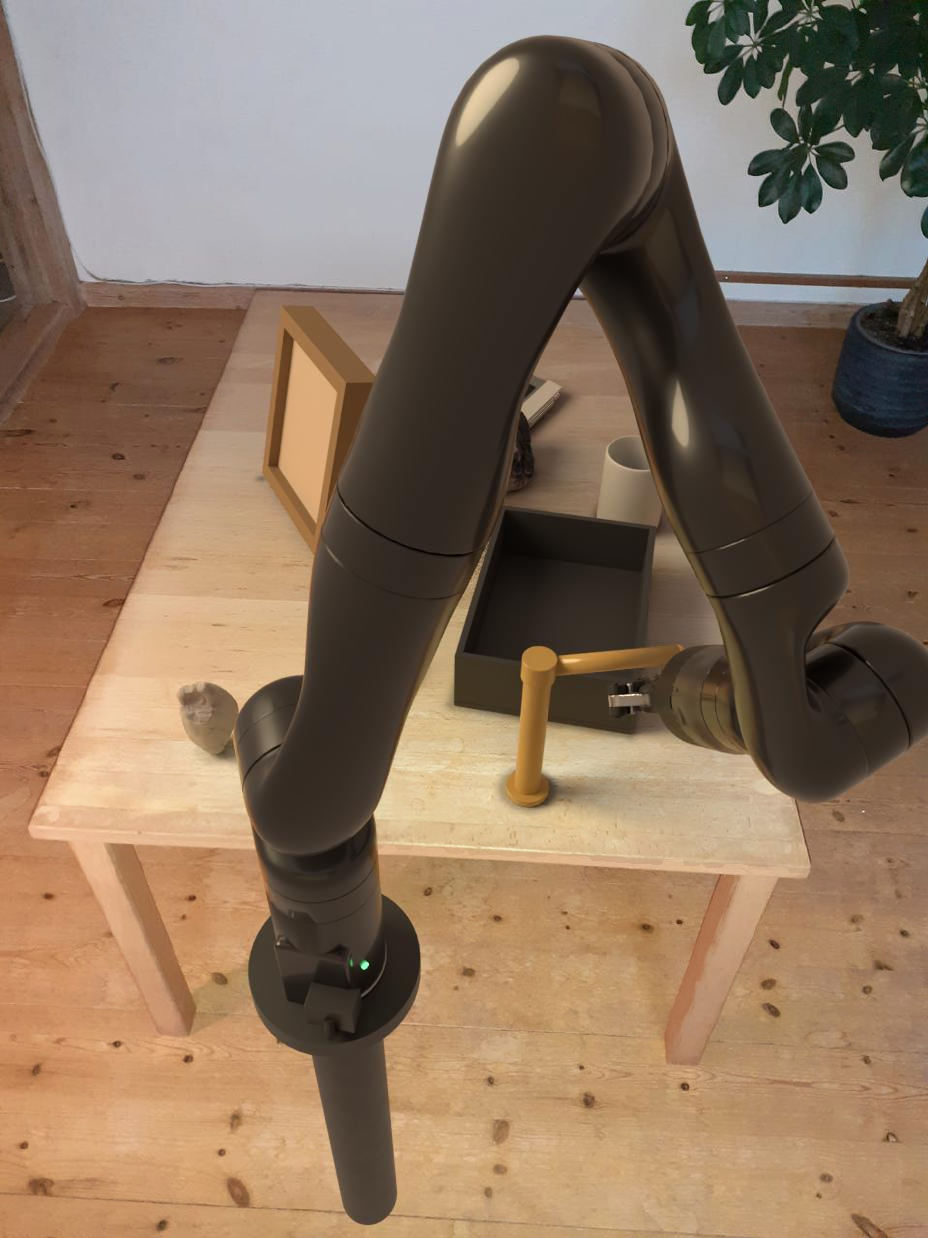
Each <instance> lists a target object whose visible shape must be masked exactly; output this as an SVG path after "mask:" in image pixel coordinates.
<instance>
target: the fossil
mask: <svg viewBox="0 0 928 1238" xmlns="http://www.w3.org/2000/svg"><path fill="white" fill-rule="evenodd" d="M176 699H177V701H178V702H179V716H180V719H181V722H182V726H183V729H184V732H185V734H186V736H187V738H188V739H189V740H190V741H191V742H192V743H193V744H194V745H195V746H197V747H199V748H201V750H202V751H204V752H205V753H208V754H210V755H219V754H220V753H222V752H223V751H224V749H225V747H226V745H227V744H228V742H229V740H230V737H231V735H232V734H233V730H234V725H235V721H236V718H237V716H238V714H239V712H240V709H239V708H240V707H239V705H238V702H237V699H236V698H234V696H233V695H232V694H231V693H230V692H228V691H227V689H224V688H223V687H222V686H219V685H218V684H215V683H212V682H206V681H199V682H195V683H191V684H186V685H182V686H181V687H180V688H178V690H177V692H176Z"/></svg>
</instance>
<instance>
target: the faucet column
mask: <svg viewBox="0 0 928 1238" xmlns="http://www.w3.org/2000/svg"><path fill="white" fill-rule="evenodd" d="M550 694H551V686H550V687H548V688H544V689H534V688H531V687H528V686H527V685H525V684H524V683H523V691H522V703H521V715H520V716H519V717H520V718H519V727H518V728H519V729H518V738H517V750H516V751H517V753H516V761H515V762H516V764H515V770H514V771H512V772H511V773H510V774H509V775H508V777H507V778H506V781H505V793H506V796H507V797H508V799H509V800H510V801H511V802H512V803H514V804H515V805H517V806H519V807H526V808H531V807H537V806H539V805H540V804H542V803H543V802H544V801H545V800H547V797H548V795H549V790H550V784H549V781H548V779H547V777H546V776H545V775H544V774H543V763H544V756H545V746H546V737H547V730H548V729H547V727H548V721H547V720H548V711H549V702H550Z"/></svg>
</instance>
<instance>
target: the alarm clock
mask: <svg viewBox="0 0 928 1238" xmlns="http://www.w3.org/2000/svg"><path fill="white" fill-rule="evenodd" d="M560 390H561V392H560V393H559V394H558V395H557V396H556V397H554V396H555V395H556V394H557V393H558V392H559V391H560ZM562 390H563V386H561V385H560V384H558V383H555V382H554V381H552V380H550V379H547V380H546V381H545V380H544V379H542V378H540V377H538V376H536V375H535V374H533V375H532V378H531V380H530V383H529V386H528V389H527V391H526V394H525V397H524V400H523V404H522V408H521V411H522V412H523V413H524V415H525V416H526V418H527V421H528V423H529V430H530V429H531V428H532V427H533V426H534V425H535V424H536V423H537V422H538V421H539V420H540V419H542V417H543V416H544V415H546V413H548V412H549V410H551V408H553V406H554V405H555V402H556V401H557V400H558V399H559V398H560V396H561V393H562ZM554 400H555V401H554ZM553 401H554V402H553ZM552 402H553V403H552ZM551 403H552V404H551ZM550 404H551V405H550ZM549 405H550V406H549ZM548 406H549V407H548ZM547 407H548V408H547ZM546 408H547V409H546ZM545 409H546V410H545ZM544 410H545V411H544ZM543 411H544V412H543ZM542 412H543V413H542ZM541 413H542V414H541ZM540 414H541V415H540ZM539 415H540V416H539ZM538 416H539V417H538ZM537 417H538V418H537ZM536 418H537V419H536ZM535 419H536V420H535ZM534 420H535V421H534ZM533 421H534V422H533ZM532 422H533V423H532Z"/></svg>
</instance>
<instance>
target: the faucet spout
mask: <svg viewBox="0 0 928 1238" xmlns="http://www.w3.org/2000/svg"><path fill="white" fill-rule="evenodd" d="M684 649H687V648H686V647H685V646H684V645H681V644H670V645H669V644H668V645H662V646H661V645H658V646H647V647H644V648H636V649H625V650H614V651H604V652H593V653H582V654H571V655H560V656H557V655H556V654H555V652H554V651H552V650H551V649H549V648H547V647H543V646H534V647H531V648H528V649H527V650H526V651H525V652H524V653H523V655H522V663H521V679H522V681H523V683H524V684H525V685H527V686H528V687H531V688H534V689H544V688H548V687H550V686H551V685H552V684H553V683H554V681H555V679H556V676H560V675H571V674H581V673H592V672H602V671H613V670H623V669H634V668H642V669H643V668H655V667H664V666H665V665H666V664H667V662H668V661H669V660H670V659H671V658H672V657H673V656H675V655H676V654H677V653H679V652H681V651H683V650H684Z"/></svg>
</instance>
